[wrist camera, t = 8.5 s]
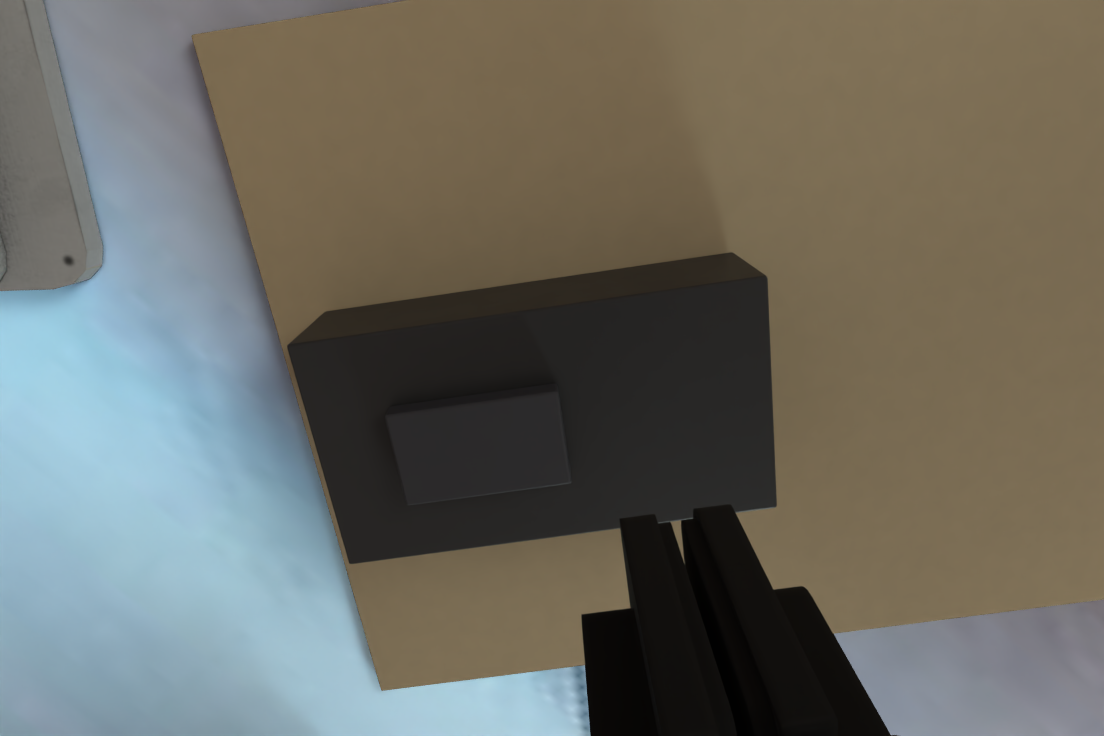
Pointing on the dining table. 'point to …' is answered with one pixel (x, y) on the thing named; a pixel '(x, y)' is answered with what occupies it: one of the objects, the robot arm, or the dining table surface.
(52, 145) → the emergency button
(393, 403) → the block
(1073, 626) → the dining table surface
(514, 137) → the cork mat
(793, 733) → the robot arm
